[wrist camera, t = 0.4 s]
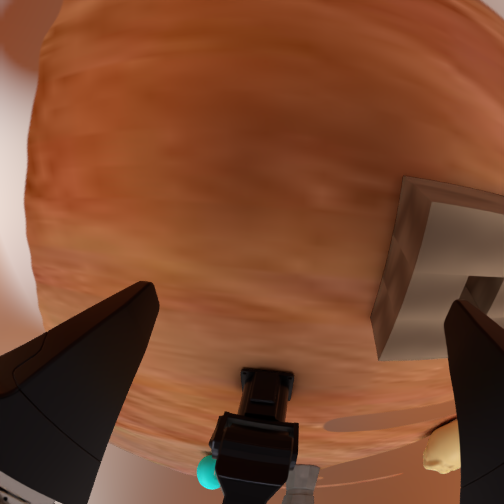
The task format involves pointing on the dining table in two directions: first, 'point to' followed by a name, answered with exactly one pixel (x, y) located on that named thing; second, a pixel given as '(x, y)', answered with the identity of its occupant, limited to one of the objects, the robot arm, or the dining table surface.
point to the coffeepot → (301, 485)
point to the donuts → (207, 473)
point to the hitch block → (438, 267)
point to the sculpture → (443, 449)
